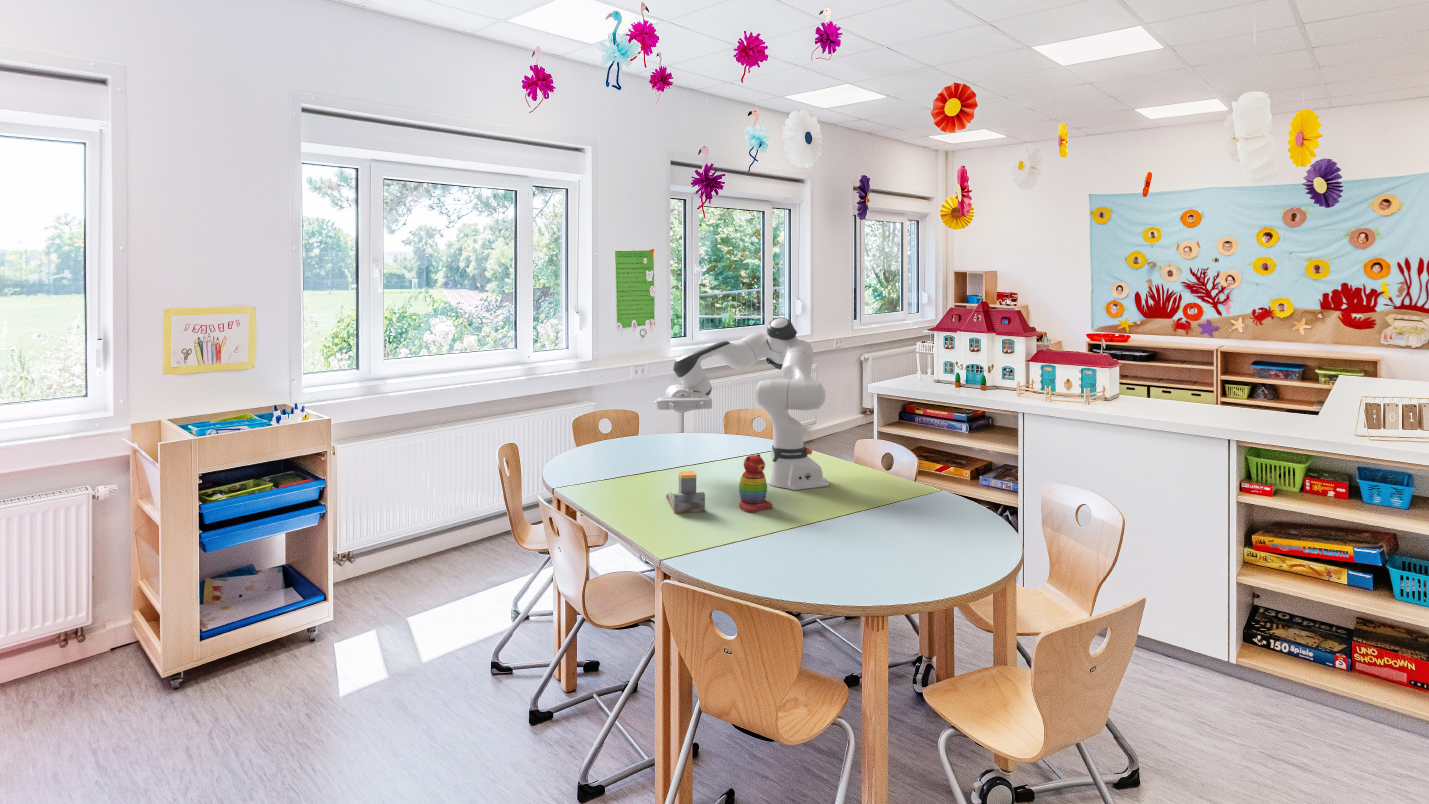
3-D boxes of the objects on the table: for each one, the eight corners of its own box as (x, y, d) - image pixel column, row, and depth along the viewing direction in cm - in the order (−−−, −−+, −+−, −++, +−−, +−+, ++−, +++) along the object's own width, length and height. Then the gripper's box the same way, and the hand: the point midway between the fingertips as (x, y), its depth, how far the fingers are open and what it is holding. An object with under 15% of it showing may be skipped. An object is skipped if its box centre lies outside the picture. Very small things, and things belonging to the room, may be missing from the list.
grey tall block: (693, 502, 256) (693, 470, 254) (696, 507, 252) (696, 474, 250) (678, 503, 255) (678, 471, 253) (681, 507, 251) (681, 475, 249)
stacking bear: (750, 513, 249) (751, 460, 246) (731, 506, 257) (732, 454, 254) (775, 508, 255) (776, 456, 252) (756, 500, 263) (757, 450, 260)
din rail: (694, 495, 268) (694, 479, 267) (704, 511, 250) (704, 493, 249) (666, 497, 266) (666, 480, 265) (674, 513, 248) (674, 495, 247)
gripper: (653, 392, 282) (658, 398, 268) (707, 391, 286) (715, 397, 273) (653, 409, 283) (658, 416, 269) (707, 408, 287) (715, 414, 274)
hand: (687, 406), depth 271 cm, fingers open, 8 cm apart
